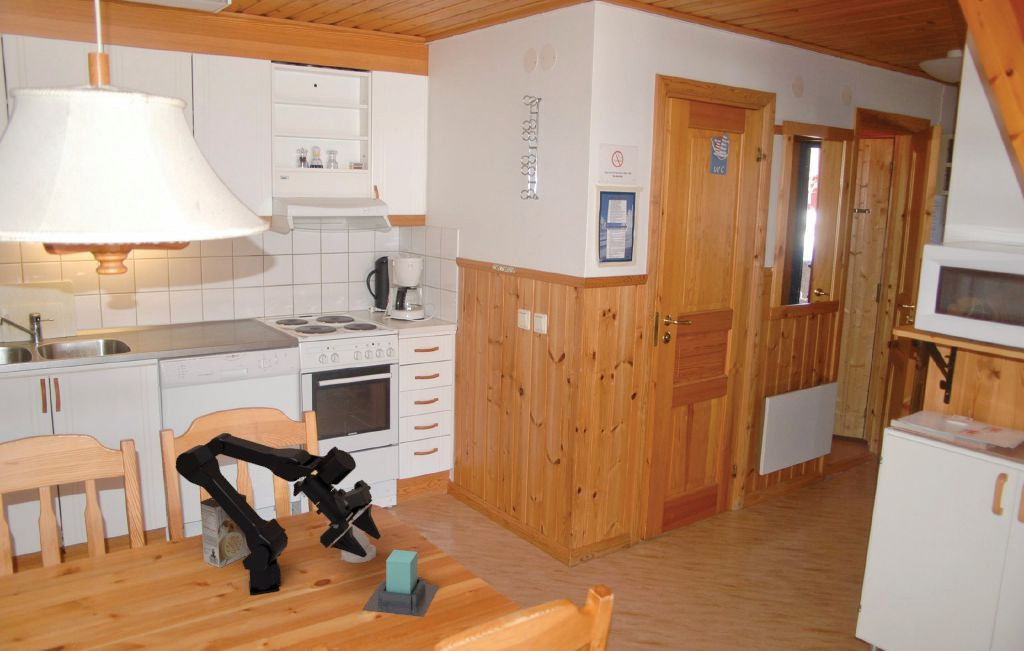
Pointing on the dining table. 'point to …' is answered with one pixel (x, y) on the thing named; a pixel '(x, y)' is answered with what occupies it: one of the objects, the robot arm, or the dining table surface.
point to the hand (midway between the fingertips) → (372, 546)
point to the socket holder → (402, 600)
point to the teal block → (401, 572)
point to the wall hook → (363, 542)
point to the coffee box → (221, 535)
